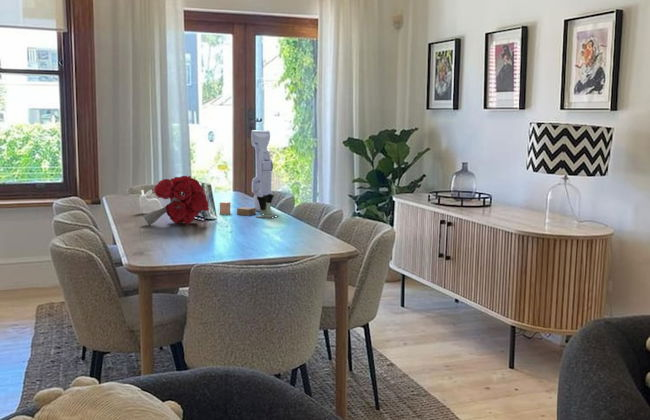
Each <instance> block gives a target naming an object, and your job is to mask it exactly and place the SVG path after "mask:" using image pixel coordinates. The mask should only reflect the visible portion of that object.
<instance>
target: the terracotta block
mask: <svg viewBox="0 0 650 420" xmlns="http://www.w3.org/2000/svg"><path fill="white" fill-rule="evenodd" d="M219 214H221V215H230V214H231V202H229V201H221V202H219Z"/></svg>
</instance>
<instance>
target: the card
mask: <svg viewBox="0 0 650 420" xmlns="http://www.w3.org/2000/svg"><path fill="white" fill-rule="evenodd" d="M277 215H278V214H271V213H270V214H264V215H261V214H259V215H256V216H255V218H256V217H258V218H257V219H265V218H271V219H273V218H272V217H275V216H277ZM278 216H279V217H280V215H278ZM275 218H276V217H275Z"/></svg>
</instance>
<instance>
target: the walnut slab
mask: <svg viewBox="0 0 650 420" xmlns="http://www.w3.org/2000/svg"><path fill="white" fill-rule="evenodd" d="M256 211H257V210H256V208H254V207H251V206H250V207H249V206H243V207H237V208H236V214H237V215H238V216H239V215H240V216H247V215H249V216H253V215H252V214H254V215H256V214H257V213H256Z"/></svg>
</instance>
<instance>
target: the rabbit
mask: <svg viewBox="0 0 650 420" xmlns="http://www.w3.org/2000/svg"><path fill="white" fill-rule="evenodd" d="M144 191H145V190H144V189H141V191H140V194H141V195H139V198H138V202H139V207H140V208H141V209H142V210H143V211H142V214H144V215H146V214H148V213H150V212H153V211H156V210H160V209H162V208H164V207H163V206H162V203H161V201H160V200H159V199H157V198H155V197H154V198H153V197H152V198H147V197H148V196H150V195H152V194H153V190H152V189H149V190H148V191H146V192H144Z"/></svg>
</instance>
